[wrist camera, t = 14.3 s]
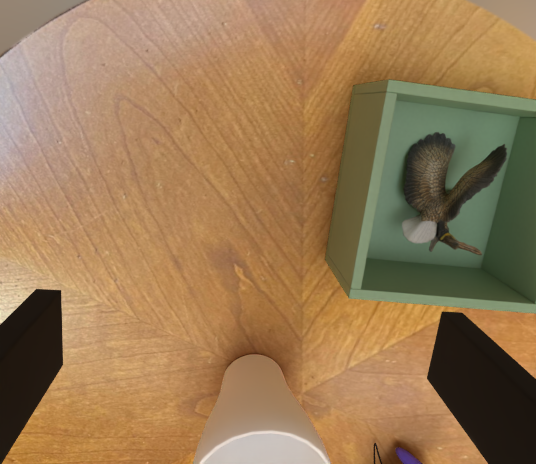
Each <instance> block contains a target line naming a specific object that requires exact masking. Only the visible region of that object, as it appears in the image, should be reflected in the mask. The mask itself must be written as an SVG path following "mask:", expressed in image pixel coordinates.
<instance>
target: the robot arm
mask: <svg viewBox="0 0 536 464" xmlns="http://www.w3.org/2000/svg"><path fill="white" fill-rule="evenodd" d="M62 365H63V348H62V309H61V290H44V289H36V290H35V291H34V292H33V293H32V294H31V295H30V296H29V297H28V298H27V299H26V300H25V301H24V302H23V303H22V304H21V305H20V306H19V307H18V308H17V309H16V310H15V311H14V312H13V313H12V314H11V315H10V316H9V317H8V318H7V319H6V320H5V321H4V322H3V323H2V324H1V325H0V464H2V462H3V460H4V459H5V457H6V455H7V454H8V452H9V451H10V449H11V447H12V446H13V444H14V443H15V441H16V439H17V438H18V436H19V435H20V433H21V431H22V430H23V428H24V426H25V425H26V423H27V422H28V420H29V418H30V417H31V415H32V414H33V412H34V410H35V409H36V407H37V406H38V404H39V402H40V401H41V399H42V397H43V396H44V394H45V393H46V391H47V389H48V388H49V386H50V385H51V383H52V381H53V380H54V378H55V377H56V375H57V373H58V372H59V370H60V368H61V367H62ZM427 379H428V381H429V382H430V383H431V385H432V386H433V387H434V389H435V390H436V392H437V393H438V394H439V396H440V397H441V399H442V400H443V401H444V403H445V404H446V406H447V407H448V408H449V410H450V411H451V412H452V414H453V415H454V417H455V418H456V419H457V421H458V422H459V424H460V425H461V426H462V428H463V429H464V431H465V432H466V433H467V435H468V436H469V437H470V439H471V440H472V442H473V443H474V444H475V446H476V447H477V449H478V450H479V451H480V453H481V454H482V456H483V457H484V458H485V460H486V461H487V462H488V464H536V379H535V378H534V377H533V376H532V375H531V374H529V373H528V372H527V371H526V370H525V369H524V368H523V367H522V366H521V365H519V364H518V363H517V362H516V361H515V360H514V359H513V358H512V357H511V356H509V355H508V354H507V353H506V352H505V351H504V350H503V349H502V348H501V347H500V346H498V345H497V344H496V343H495V342H494V341H493V340H492V339H491V338H490V337H488V336H487V335H486V334H485V333H484V332H483V331H482V330H481V329H480V328H478V327H477V326H476V325H475V324H474V323H473V322H472V321H471V320H470V319H468V318H467V317H466V316H465V315H464V314H463V313H457V312H442V314H441V318H440V323H439V327H438V332H437V336H436V341H435V345H434V349H433V354H432V358H431V363H430V367H429V372H428V376H427Z"/></svg>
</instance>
